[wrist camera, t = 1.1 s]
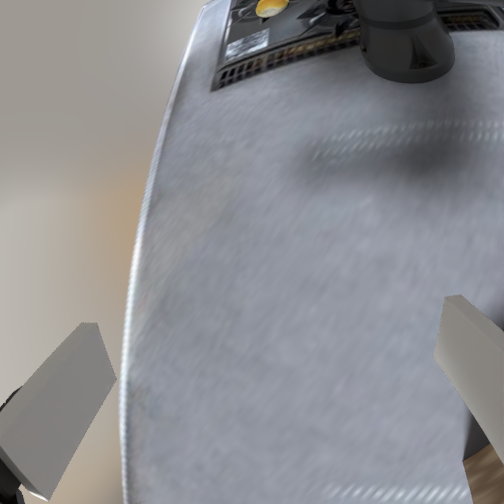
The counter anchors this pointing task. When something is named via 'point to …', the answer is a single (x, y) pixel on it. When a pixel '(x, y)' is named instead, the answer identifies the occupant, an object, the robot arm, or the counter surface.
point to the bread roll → (271, 7)
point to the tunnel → (485, 476)
